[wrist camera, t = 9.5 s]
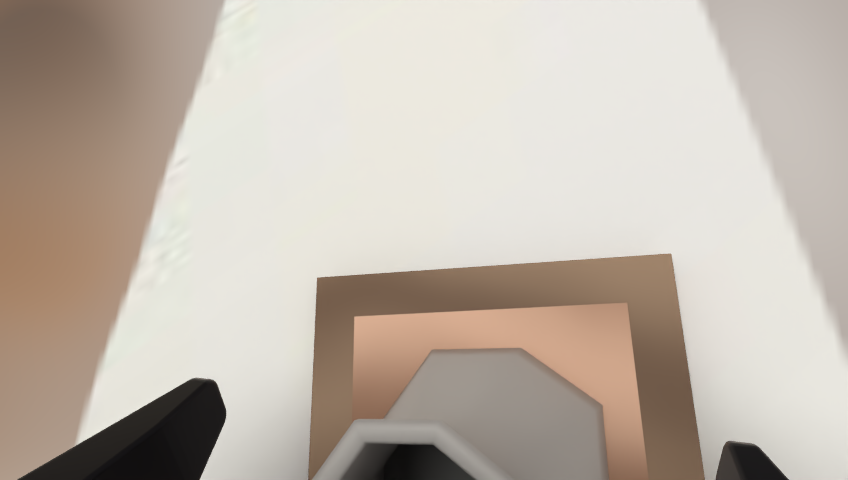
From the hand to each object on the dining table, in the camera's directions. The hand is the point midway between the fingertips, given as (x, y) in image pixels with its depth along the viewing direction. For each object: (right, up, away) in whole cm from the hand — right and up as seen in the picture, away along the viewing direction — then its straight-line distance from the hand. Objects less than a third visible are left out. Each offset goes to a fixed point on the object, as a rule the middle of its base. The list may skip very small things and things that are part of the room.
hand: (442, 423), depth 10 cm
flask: (+2, -4, +7) cm, 8 cm away
